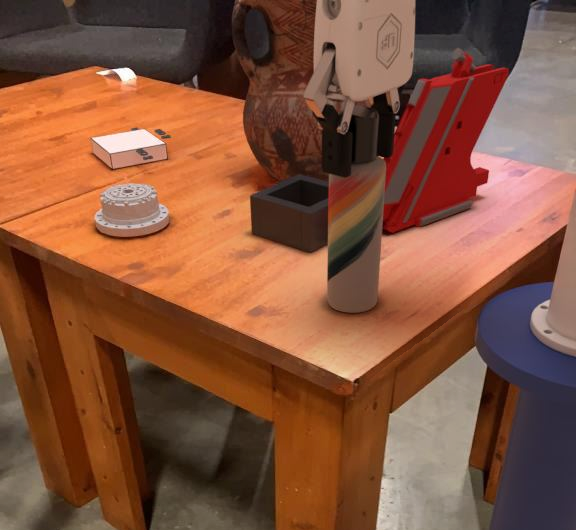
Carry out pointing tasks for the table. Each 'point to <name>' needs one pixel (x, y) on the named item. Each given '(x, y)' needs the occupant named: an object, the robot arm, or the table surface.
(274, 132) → the jug
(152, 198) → the mechanical component
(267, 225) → the holder
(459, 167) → the tool
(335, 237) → the lotion bottle
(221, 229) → the table surface
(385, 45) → the robot arm
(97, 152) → the container
